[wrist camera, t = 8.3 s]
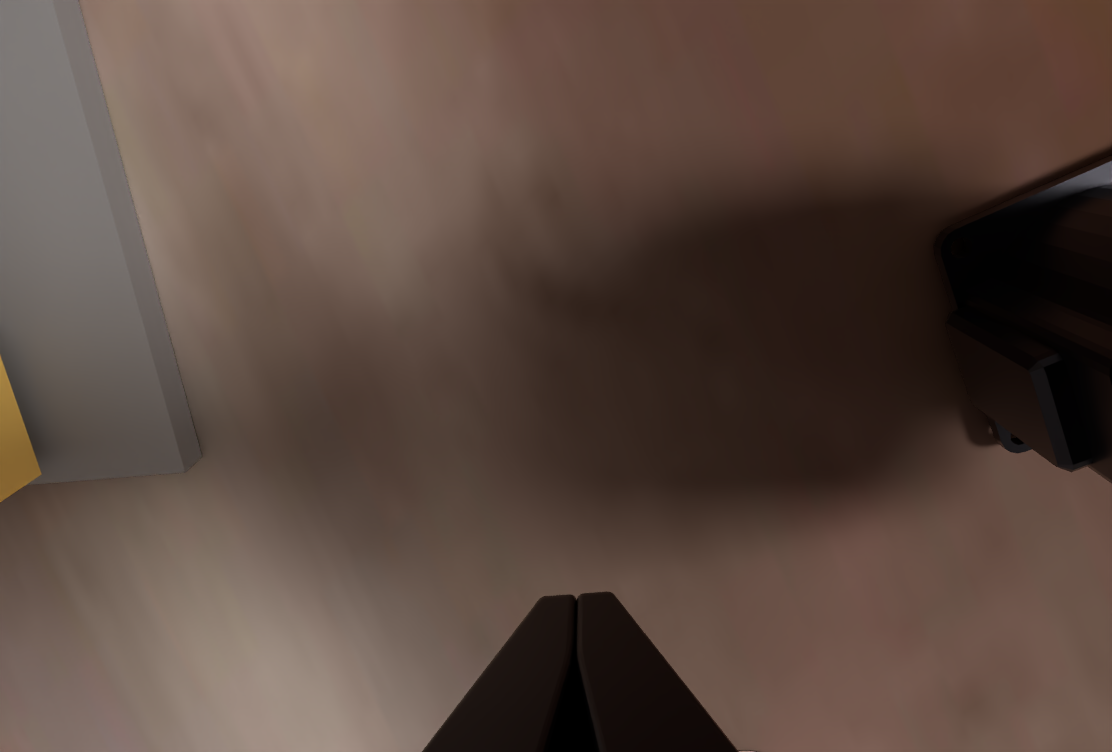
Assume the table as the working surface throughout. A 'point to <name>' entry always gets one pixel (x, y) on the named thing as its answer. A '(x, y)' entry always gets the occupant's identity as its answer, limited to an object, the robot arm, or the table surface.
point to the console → (78, 268)
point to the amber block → (13, 443)
